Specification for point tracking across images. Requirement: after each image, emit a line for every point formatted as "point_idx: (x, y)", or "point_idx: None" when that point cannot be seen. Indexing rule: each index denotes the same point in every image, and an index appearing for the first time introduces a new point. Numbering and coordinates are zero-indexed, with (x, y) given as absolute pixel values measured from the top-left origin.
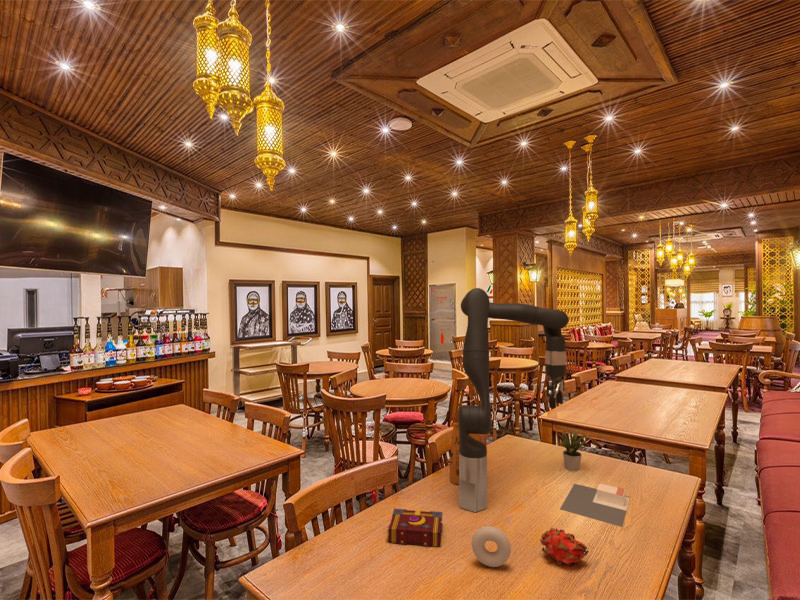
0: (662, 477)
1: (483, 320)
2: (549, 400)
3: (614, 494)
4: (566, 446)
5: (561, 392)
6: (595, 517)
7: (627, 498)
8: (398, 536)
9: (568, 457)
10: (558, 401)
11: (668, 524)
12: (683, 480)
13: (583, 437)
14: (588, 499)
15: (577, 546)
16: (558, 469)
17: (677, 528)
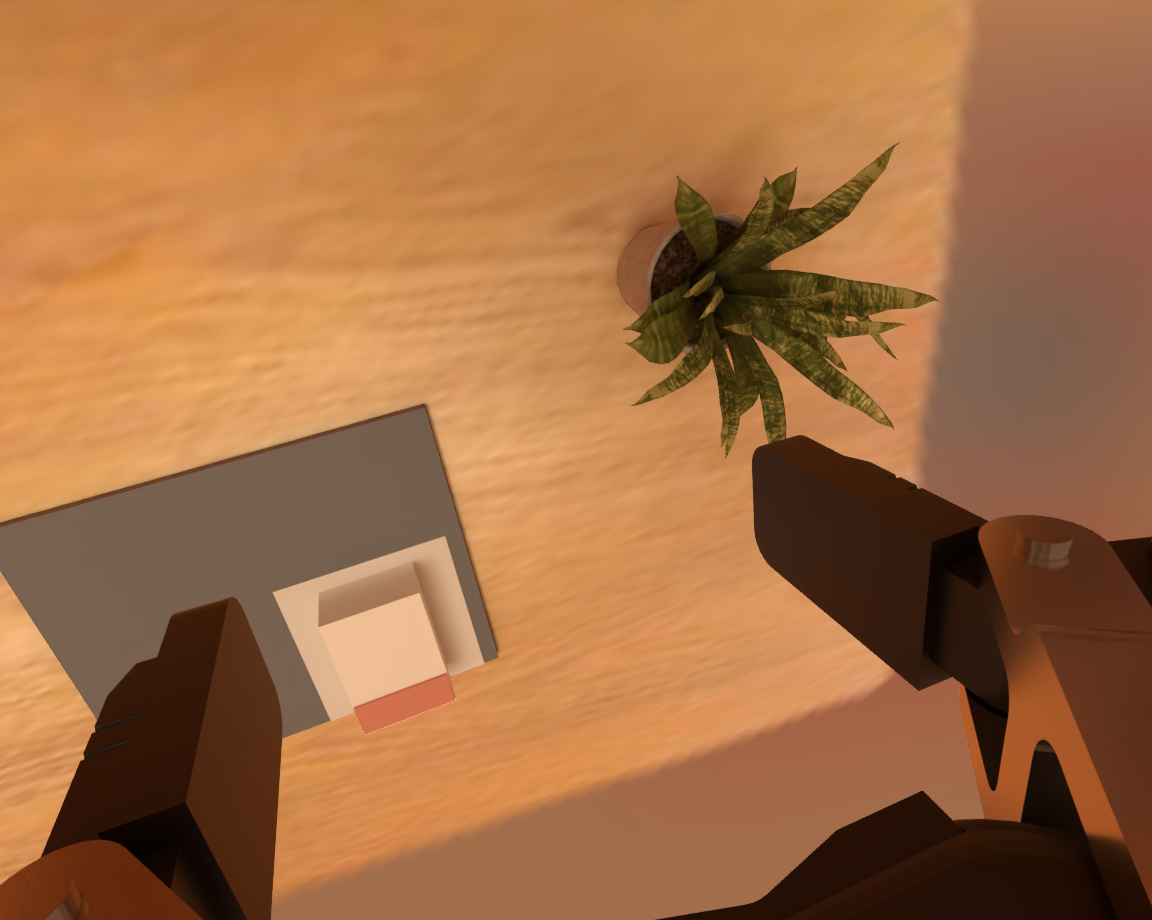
0: (828, 618)
1: None
2: (128, 756)
3: (349, 699)
4: (736, 242)
5: (964, 709)
6: (103, 688)
7: (469, 661)
8: None
9: (642, 286)
10: (777, 503)
11: (379, 832)
12: (844, 674)
13: (781, 423)
14: (284, 563)
15: None
16: (581, 207)
17: (374, 859)
